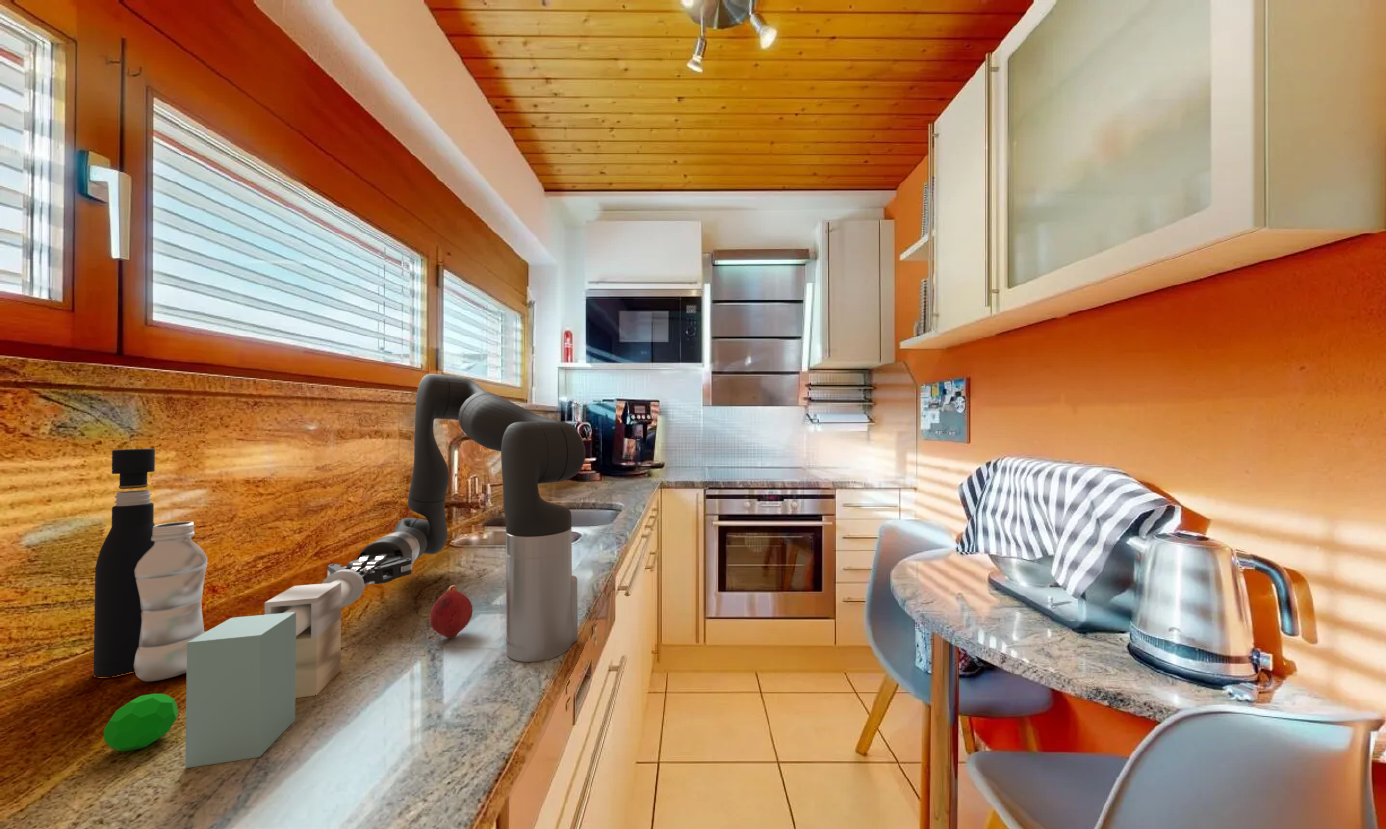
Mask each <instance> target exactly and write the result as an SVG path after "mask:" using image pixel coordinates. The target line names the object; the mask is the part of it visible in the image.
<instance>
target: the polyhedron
mask: <svg viewBox="0 0 1386 829" xmlns="http://www.w3.org/2000/svg"><path fill="white" fill-rule="evenodd" d="M178 710H179V709H178V703H177V702H176V700H175V698H173V697H172V696H169V695H168V694H166V693H149V694H143V695H140V696H138V697H136V698H134V699H132V700H129V702H127V703H125V704H124V705H123V706H121V707H119V708H118V709H116V710H115V711H114V713H113V715H112V716H111V718H110V719H109V721H108V722H107V724H106V726H105V727H104V729H103V739H104V742H105V743H106V745H107V747H109V748H111V749H113V750H115V751H117V752H130V751H131V752H132V751H136V750H140V749H145V748H147V747H148V746H150V745H152V743H154V742H156V741H157V740H158V739H161V737H163V736H164V735H166V734H167V733H168V732H169V731H170V730H171V728H172V727H173V725H174V723H175V721H176V719H177V718H178V715H179V711H178Z"/></svg>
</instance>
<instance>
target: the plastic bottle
mask: <svg viewBox="0 0 1386 829" xmlns="http://www.w3.org/2000/svg"><path fill="white" fill-rule="evenodd" d="M194 530H195V523H194V521H175V522H167V523H161V524H156V525H155V526H153V532H152V537H151V541H155V542H154V545H153V546H152V547H151V548H150V549H149V550H148V551H147V552H146V553H145V554H144V555H143V556H142V558H141V559H140V560H139V561H138V563H137V565H136V568H135V570H134V572H135V577H136V583H137V588H138V592H139V596H140V606H141V610H142V612H141V619H142V622H141V630H140V638H139V646H138V648H137V651H136V655H135V660H134V665H133V666H134V670H135V673H134V674H135V676H136V677H137V678H138V679H139V680H141V681H142V682H157V681H163V680H166V679H171V678H174V677H178V676H181V675H183V674H187V642H189V641H190V640H192V639H194V638H196V637H198V636H199V635H201V634H203V633H205V632H206V631H205V627H204V626H205V624H204V617H203V610H202V605H203V604H202V603H203V600H202V598H203V591H204V590H203V589H204V584H205V578H206V572H207V566H208V560H209V559H208V556H207V554H206V552H205V551H204V550H203V548H202V547H201V546H199V544H197V543H196V542H195V541H193V540H192V537H193V536H195V534H196V532H195V531H194Z"/></svg>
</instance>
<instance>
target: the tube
mask: <svg viewBox="0 0 1386 829" xmlns="http://www.w3.org/2000/svg"><path fill="white" fill-rule="evenodd" d="M337 582H341V608H344V607H348V606H351V605H352V604H353V603H355V602H356V601H357V600H358V599H359V598H361V596H362V594H363V592H364V590H365V586H364V580H363V578H362V576H361V575H360V574H359V573H357V572H356V571H353V570H349V569H343V570H339V571H336V572H334V573H333V574H331V575H329V576H328V575H327V577H325V579H324V580H323V581H322V583H321V584H325V583H337ZM289 612H296V636H297V635H299V634H300V633H301V632H303V631H304V630H305V629H307V628H308V627H309V626H311V604H300V605H295V606H293V607H292V608H290V609H288V610H287V611H285V612H284V613H289Z"/></svg>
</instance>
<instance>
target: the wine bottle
mask: <svg viewBox="0 0 1386 829" xmlns="http://www.w3.org/2000/svg"><path fill="white" fill-rule="evenodd" d="M155 466H156V449H155V448H130V449H127V448H125V449H113V450H112V451H111V474H113V475H118V474H119V485H118V489H120V490H125V491H118V492H116V495H114V499H116V500H115V501H114V504H115V505H114V506H112V507H111V528H110V530H109V532H108V534H107V535H106V537H105V539H104V542H103V543H102V545H101V547H100V550H99V554H98V556H97V561H96V564H95V567H94V570H95V571H94V615H93V616H94V619H93V620H94V626H93V631H94V632H93V634H94V635H93V676H94V675H95V676H96V677H112V676H117V675H121V674H126V673H129V672H134V671H135V670H134V666H133V665H134V660H135V655H136V651H137V648H138V646H139V638H140V630H141V622H142V619H141V612H142V610H141V606H140V596H139V592H138V588H137V583H136V577H135V572H134V570H135V568H136V565H137V563H138V561H139V560H140V559H141V558H142V556H143V555H144V554H145V553H146V552H147V551H148V550H149V549H150V548H151V547H152V546H153V545H154V542H155V541H151V537H152V532H153V526H156V525H155V521H154V514H155V512H154V510H155V509H154V506H155V504H154V503H153V502H151V501H152V497H151V495H152V492H150V491H151V490H150V489H143V488H147V487H148V486H149V484H148V473H153V472H156V471H155V470H156V467H155ZM140 488H141V490H139V489H140ZM130 489H131V490H130ZM132 489H137V490H132Z"/></svg>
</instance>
